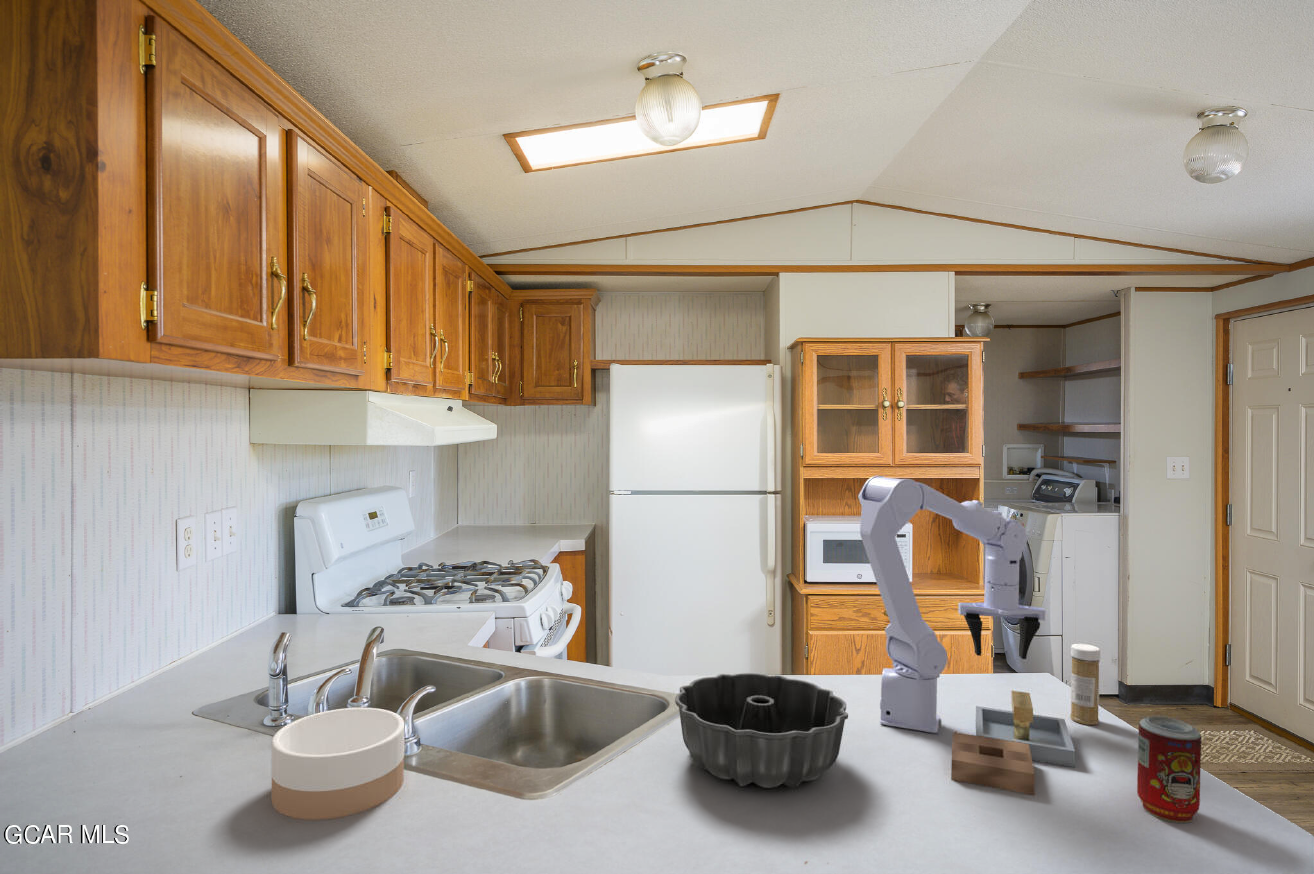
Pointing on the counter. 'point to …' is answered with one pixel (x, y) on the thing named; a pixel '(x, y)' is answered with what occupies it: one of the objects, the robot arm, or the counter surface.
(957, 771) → the slot block
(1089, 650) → the sprinkles bottle
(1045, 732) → the tray
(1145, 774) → the soda can
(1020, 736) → the t key
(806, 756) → the bundt pan
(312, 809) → the bowl
